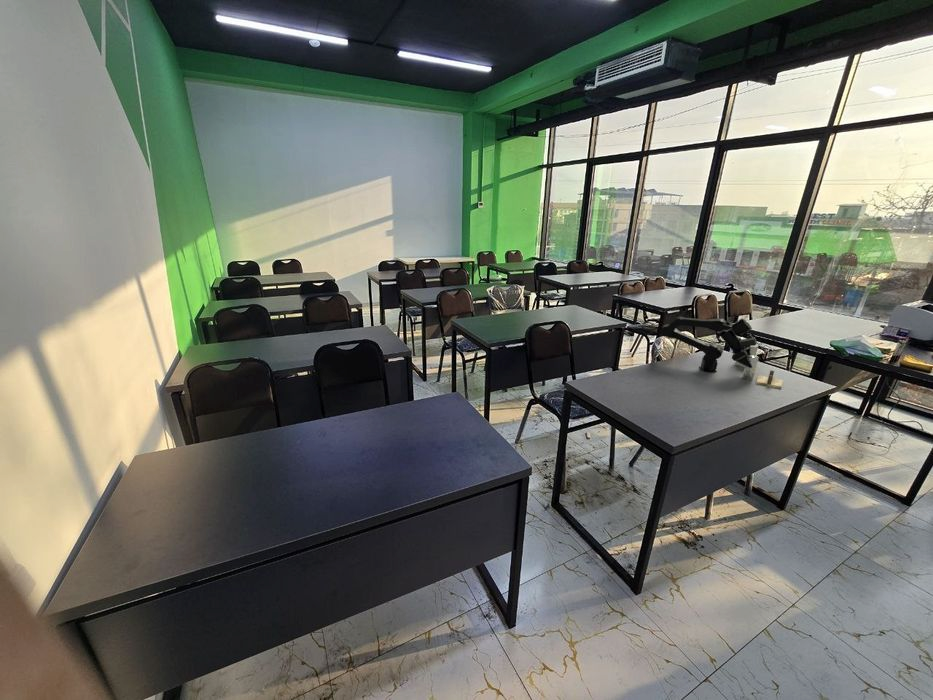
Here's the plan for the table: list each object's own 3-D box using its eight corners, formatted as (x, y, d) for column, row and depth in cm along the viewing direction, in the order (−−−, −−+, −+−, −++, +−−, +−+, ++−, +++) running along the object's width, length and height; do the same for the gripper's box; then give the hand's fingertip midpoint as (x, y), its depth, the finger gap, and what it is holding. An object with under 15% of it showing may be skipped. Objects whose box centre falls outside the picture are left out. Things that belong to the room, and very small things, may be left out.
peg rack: (755, 383, 197) (758, 373, 195) (757, 377, 204) (760, 368, 202) (780, 389, 191) (783, 379, 189) (782, 382, 198) (784, 372, 196)
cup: (756, 367, 217) (761, 346, 213) (741, 367, 217) (746, 346, 213) (746, 362, 224) (751, 342, 220) (732, 361, 224) (737, 341, 220)
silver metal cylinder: (745, 380, 201) (750, 358, 197) (740, 376, 205) (745, 354, 201) (754, 380, 200) (760, 358, 196) (749, 376, 205) (755, 355, 201)
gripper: (745, 335, 191) (767, 362, 188) (749, 327, 204) (770, 352, 201) (722, 347, 198) (744, 373, 195) (728, 338, 211) (748, 362, 209)
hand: (752, 365), depth 200 cm, fingers open, 9 cm apart
